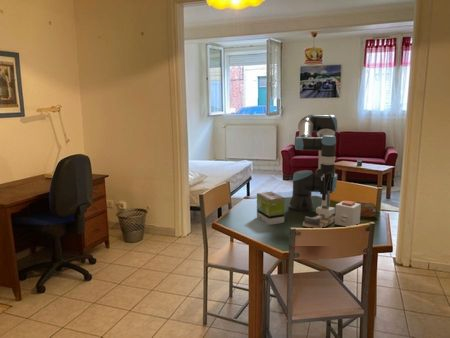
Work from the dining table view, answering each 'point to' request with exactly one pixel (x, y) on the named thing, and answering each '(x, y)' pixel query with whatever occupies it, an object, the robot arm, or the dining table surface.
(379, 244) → the dining table surface
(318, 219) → the rail board
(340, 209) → the cabinet
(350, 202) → the button
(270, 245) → the dining table surface
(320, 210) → the grey white tall piece
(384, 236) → the dining table surface
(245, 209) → the dining table surface
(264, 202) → the tea box
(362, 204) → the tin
